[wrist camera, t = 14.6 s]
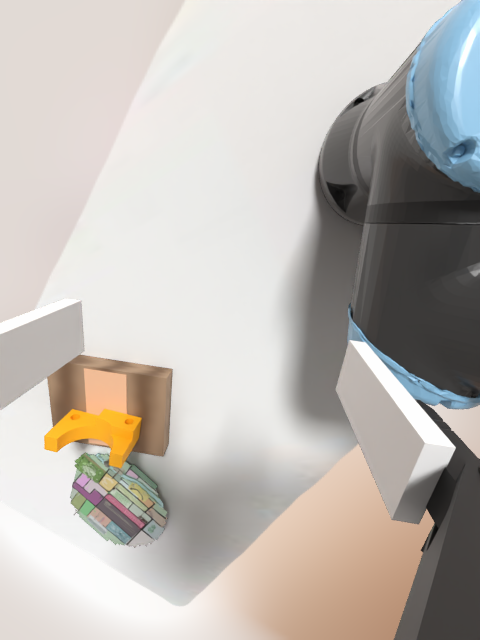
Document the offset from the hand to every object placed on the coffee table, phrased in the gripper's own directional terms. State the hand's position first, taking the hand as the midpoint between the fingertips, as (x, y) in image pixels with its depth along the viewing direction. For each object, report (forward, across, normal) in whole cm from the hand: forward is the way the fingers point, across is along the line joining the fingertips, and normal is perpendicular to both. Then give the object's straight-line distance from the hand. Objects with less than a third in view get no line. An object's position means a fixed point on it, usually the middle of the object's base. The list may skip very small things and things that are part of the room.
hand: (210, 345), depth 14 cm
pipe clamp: (+26, -20, -29) cm, 44 cm away
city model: (+29, -20, -50) cm, 61 cm away
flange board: (+29, -20, -27) cm, 44 cm away
